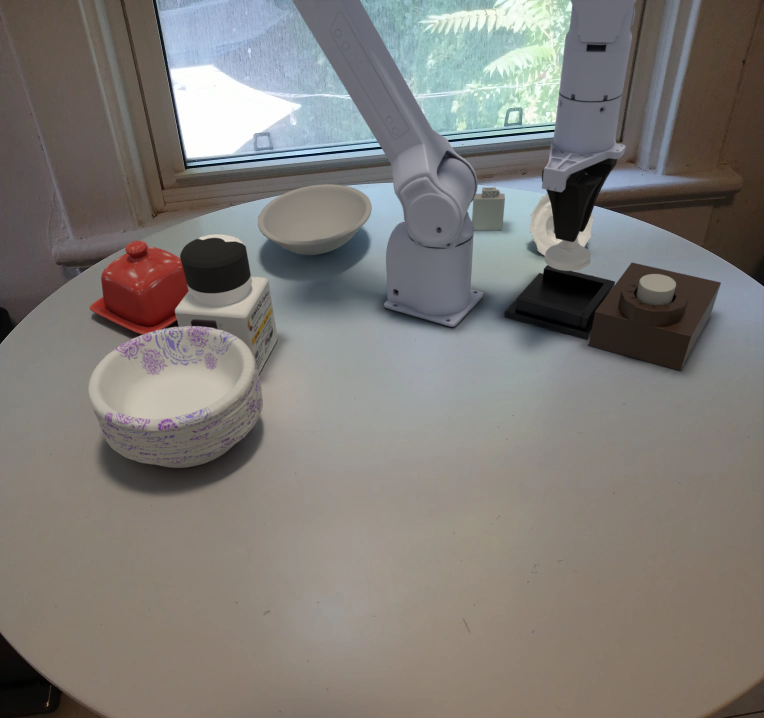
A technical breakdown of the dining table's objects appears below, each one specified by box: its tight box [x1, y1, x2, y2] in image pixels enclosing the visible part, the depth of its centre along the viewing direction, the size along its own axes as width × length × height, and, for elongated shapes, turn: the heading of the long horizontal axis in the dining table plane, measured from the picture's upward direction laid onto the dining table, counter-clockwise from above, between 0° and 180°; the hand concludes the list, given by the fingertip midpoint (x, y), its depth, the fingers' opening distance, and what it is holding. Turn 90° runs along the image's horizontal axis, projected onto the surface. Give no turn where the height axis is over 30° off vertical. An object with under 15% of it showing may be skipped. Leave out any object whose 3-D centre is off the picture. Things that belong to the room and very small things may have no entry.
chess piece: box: [543, 173, 592, 272], centre depth 76 cm, size 5×5×10 cm
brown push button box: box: [588, 262, 722, 371], centre depth 79 cm, size 10×12×6 cm
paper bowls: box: [87, 326, 264, 469], centre depth 69 cm, size 15×15×8 cm
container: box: [175, 233, 279, 375], centre depth 77 cm, size 8×8×13 cm
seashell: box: [529, 193, 595, 257], centre depth 95 cm, size 8×5×8 cm
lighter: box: [471, 187, 506, 231], centre depth 98 cm, size 7×2×8 cm, turn 86°
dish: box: [257, 183, 373, 256], centre depth 96 cm, size 18×14×5 cm
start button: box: [636, 274, 676, 305], centre depth 75 cm, size 4×4×2 cm
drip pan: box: [504, 264, 616, 340], centre depth 85 cm, size 10×10×2 cm
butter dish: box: [89, 240, 189, 335], centre depth 86 cm, size 12×12×8 cm
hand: (570, 234), depth 77 cm, fingers closed on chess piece
